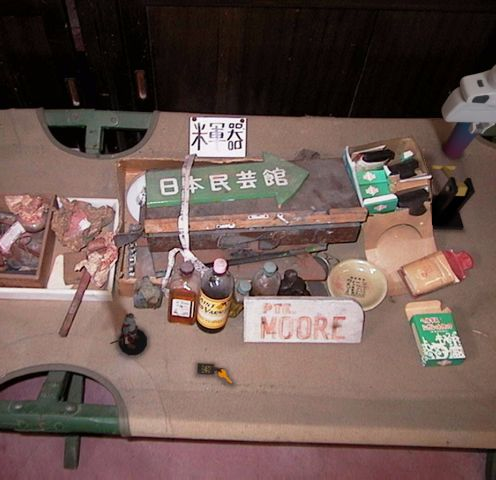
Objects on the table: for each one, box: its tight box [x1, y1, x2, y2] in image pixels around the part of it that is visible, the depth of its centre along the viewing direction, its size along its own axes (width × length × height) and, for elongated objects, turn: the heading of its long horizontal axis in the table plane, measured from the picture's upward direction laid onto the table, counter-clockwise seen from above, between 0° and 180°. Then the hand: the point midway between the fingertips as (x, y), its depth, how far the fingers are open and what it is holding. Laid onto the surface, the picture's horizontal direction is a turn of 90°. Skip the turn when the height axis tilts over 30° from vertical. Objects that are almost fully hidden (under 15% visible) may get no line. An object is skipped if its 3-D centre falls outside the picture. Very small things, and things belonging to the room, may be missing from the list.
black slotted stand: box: [431, 176, 476, 231], centre depth 134 cm, size 10×9×13 cm
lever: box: [430, 164, 468, 196], centre depth 134 cm, size 13×6×2 cm, turn 178°
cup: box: [442, 122, 481, 159], centre depth 144 cm, size 7×7×15 cm
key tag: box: [197, 363, 233, 384], centre depth 117 cm, size 8×3×1 cm, turn 73°
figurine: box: [109, 312, 148, 356], centre depth 115 cm, size 7×7×15 cm
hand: (475, 131), depth 127 cm, fingers closed
